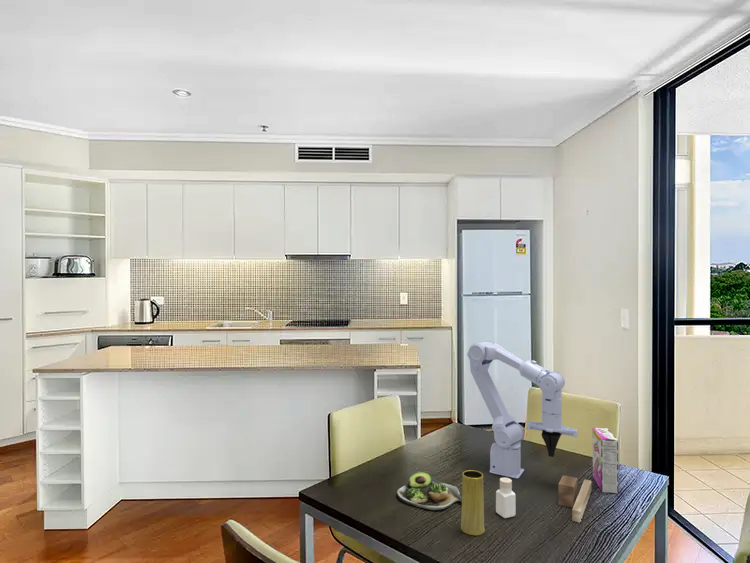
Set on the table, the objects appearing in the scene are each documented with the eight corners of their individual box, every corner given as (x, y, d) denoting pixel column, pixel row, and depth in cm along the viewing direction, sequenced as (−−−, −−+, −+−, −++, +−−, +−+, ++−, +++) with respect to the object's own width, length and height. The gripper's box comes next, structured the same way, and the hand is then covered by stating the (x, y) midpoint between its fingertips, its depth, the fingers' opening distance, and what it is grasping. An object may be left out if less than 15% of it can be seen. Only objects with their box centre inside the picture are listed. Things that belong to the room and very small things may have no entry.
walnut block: (558, 504, 133) (558, 483, 133) (562, 495, 139) (562, 475, 139) (573, 508, 131) (573, 487, 131) (577, 498, 137) (577, 478, 137)
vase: (457, 523, 123) (458, 469, 122) (480, 522, 123) (480, 468, 123) (464, 536, 116) (464, 479, 116) (488, 535, 117) (488, 478, 117)
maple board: (572, 520, 124) (572, 509, 124) (584, 489, 143) (584, 479, 143) (580, 523, 123) (580, 511, 123) (591, 490, 142) (591, 480, 142)
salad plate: (476, 495, 139) (476, 480, 139) (449, 520, 125) (449, 503, 125) (420, 479, 151) (420, 464, 151) (389, 500, 136) (389, 484, 136)
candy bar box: (591, 477, 151) (591, 426, 151) (608, 478, 150) (608, 427, 150) (600, 493, 140) (601, 438, 140) (618, 494, 139) (619, 439, 139)
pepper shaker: (495, 512, 128) (495, 478, 128) (506, 509, 130) (506, 475, 130) (504, 519, 125) (504, 484, 125) (516, 516, 126) (516, 481, 126)
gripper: (524, 411, 145) (524, 455, 145) (574, 419, 137) (574, 465, 138) (530, 406, 151) (530, 448, 151) (578, 413, 143) (578, 457, 144)
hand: (551, 455), depth 145 cm, fingers closed
